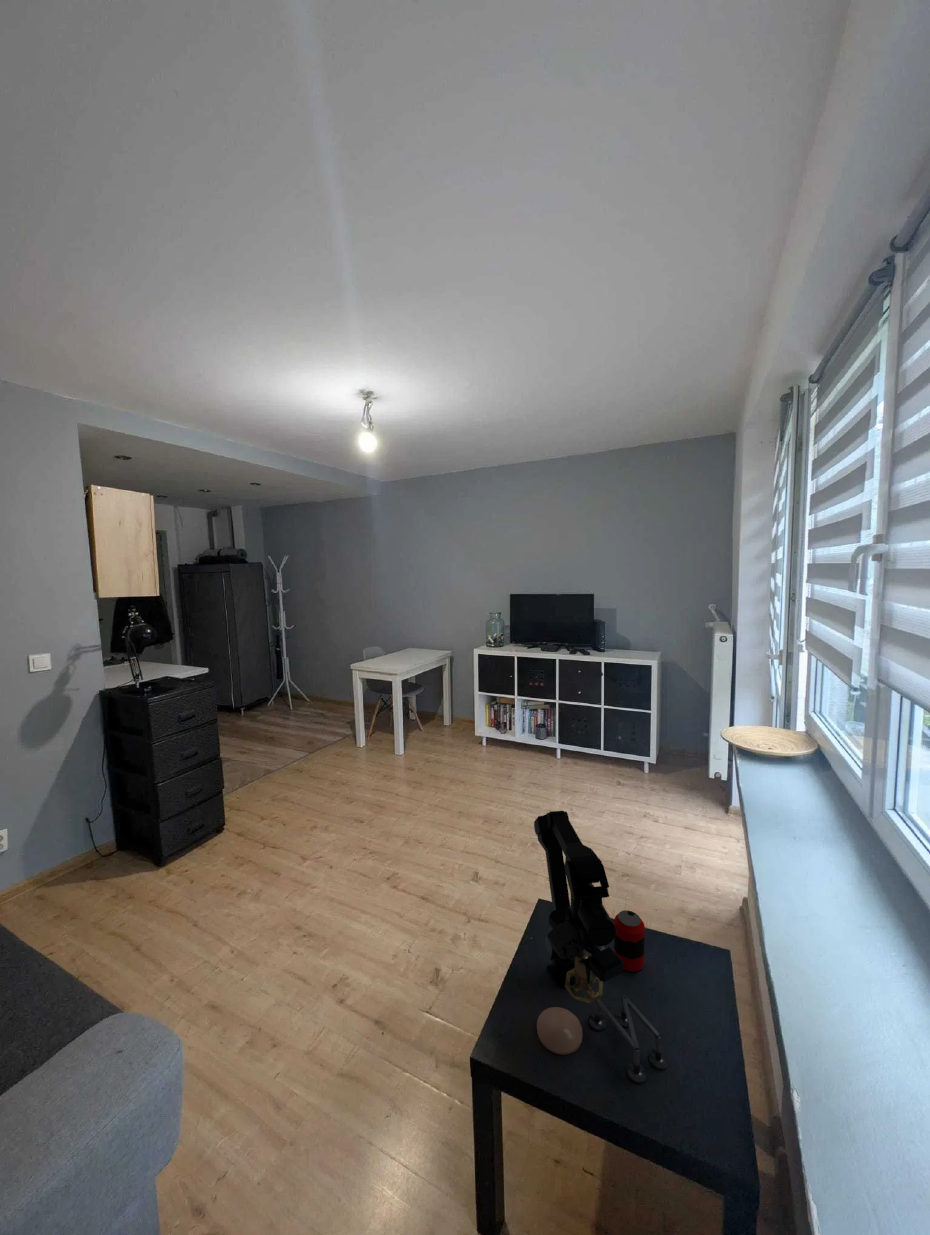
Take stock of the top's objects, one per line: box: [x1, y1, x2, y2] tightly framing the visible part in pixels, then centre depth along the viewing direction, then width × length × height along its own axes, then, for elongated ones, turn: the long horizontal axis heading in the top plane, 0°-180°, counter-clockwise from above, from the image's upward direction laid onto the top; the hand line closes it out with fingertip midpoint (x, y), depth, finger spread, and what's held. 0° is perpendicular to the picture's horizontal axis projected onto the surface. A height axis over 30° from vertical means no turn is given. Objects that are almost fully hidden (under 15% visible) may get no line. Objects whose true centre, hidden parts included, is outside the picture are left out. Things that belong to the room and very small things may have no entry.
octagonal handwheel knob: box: [564, 950, 604, 1004], centre depth 104 cm, size 8×8×7 cm
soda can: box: [613, 909, 646, 973], centre depth 122 cm, size 8×8×12 cm
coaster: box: [536, 1006, 583, 1056], centre depth 104 cm, size 10×10×1 cm
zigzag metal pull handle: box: [588, 994, 669, 1084], centre depth 101 cm, size 16×10×6 cm, turn 24°
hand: (583, 975), depth 104 cm, fingers closed on octagonal handwheel knob, 4 cm apart
